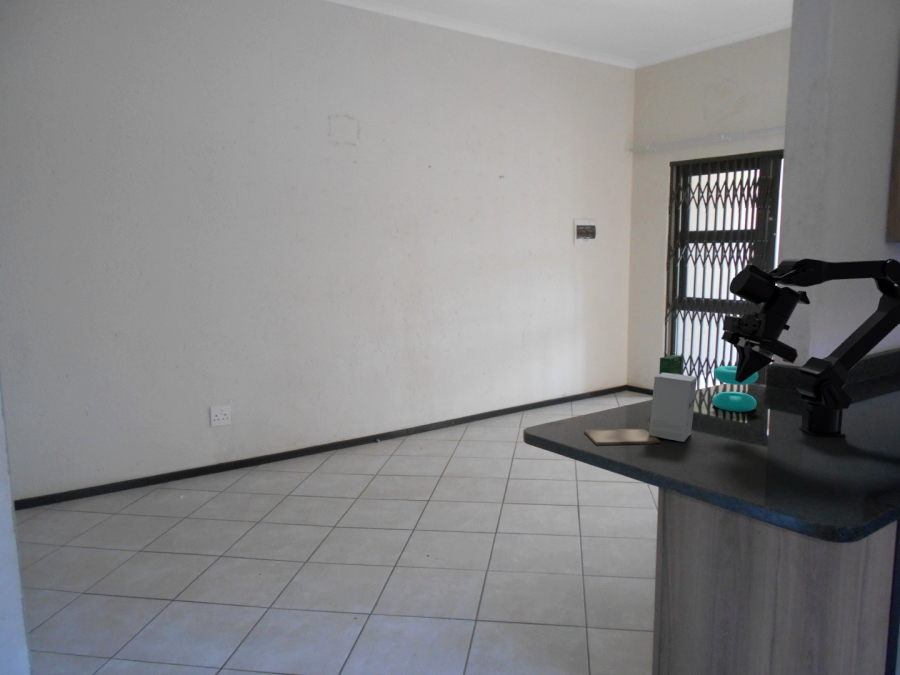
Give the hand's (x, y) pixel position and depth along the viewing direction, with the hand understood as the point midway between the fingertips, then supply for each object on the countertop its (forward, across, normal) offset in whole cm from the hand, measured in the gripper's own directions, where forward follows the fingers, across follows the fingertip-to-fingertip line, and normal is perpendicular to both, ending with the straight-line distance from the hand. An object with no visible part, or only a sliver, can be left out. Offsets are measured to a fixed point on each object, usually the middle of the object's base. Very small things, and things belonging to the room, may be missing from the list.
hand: (737, 381), depth 127 cm
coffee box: (+12, -24, +2) cm, 27 cm away
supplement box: (+16, 0, -8) cm, 18 cm away
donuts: (+5, -22, +16) cm, 28 cm away
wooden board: (+21, 0, -17) cm, 27 cm away
